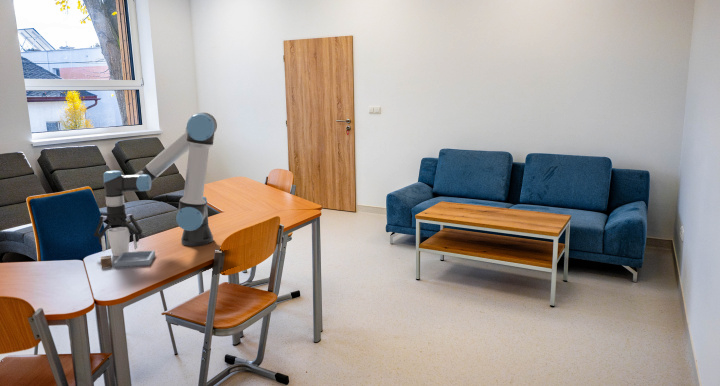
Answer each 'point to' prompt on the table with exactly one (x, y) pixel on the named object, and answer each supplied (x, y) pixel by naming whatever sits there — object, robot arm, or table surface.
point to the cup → (119, 240)
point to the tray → (134, 259)
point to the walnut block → (106, 261)
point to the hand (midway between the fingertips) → (120, 249)
